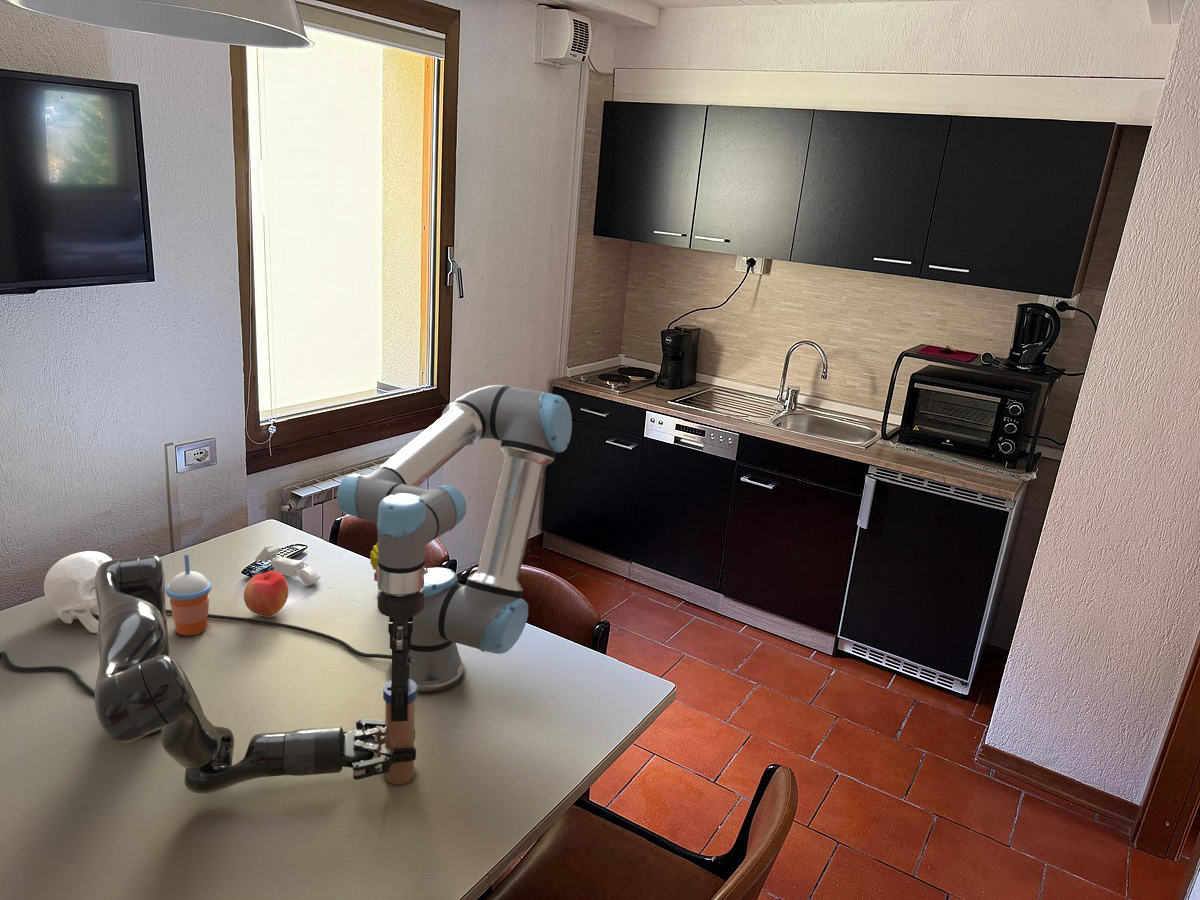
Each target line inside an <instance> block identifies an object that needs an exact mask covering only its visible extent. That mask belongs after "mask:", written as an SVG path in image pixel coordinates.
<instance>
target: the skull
mask: <svg viewBox="0 0 1200 900" xmlns="http://www.w3.org/2000/svg"><path fill="white" fill-rule="evenodd" d="M110 560H113V558H111V557H110V556H109V555H107V554H106V553H103V552H100V551H93V550H87V551H81V552H80V551H79V552H75V553H72V554H69V555H67V556H64V557H63V558H60V559H59V560H58V561H57V562H55V563H54V564H53V565H52V566H51V567H50V568H49V569H48V571H47V572H46V575H45V578H44V581H43V593H44V596H45V600H46V602H47V603H48V605H49V606H50V608H52V610H53V611H54V612H55V613H56V615H57V616H58V617H59V619H60V620H61V621H62V622H64V623H65V624H72V622H73V621H74V620H79V622H80V623H81V624H82V625H83V626H84V628H86V630H87V631H88V632H89V633H92V634H98V626H99V619H97V618H95V617H94V616H93V614H94V615H95V616H98V617H99V610H98V604H97V599H96V593H95V576H96V572H97V569H98V568H99V566H100V565H101V564H102V563H104V562H107V561H110Z"/></svg>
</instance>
